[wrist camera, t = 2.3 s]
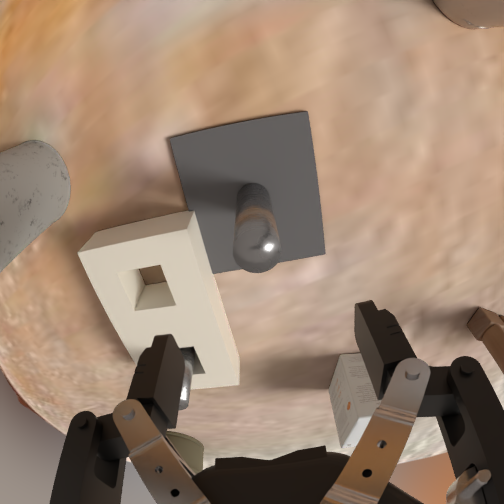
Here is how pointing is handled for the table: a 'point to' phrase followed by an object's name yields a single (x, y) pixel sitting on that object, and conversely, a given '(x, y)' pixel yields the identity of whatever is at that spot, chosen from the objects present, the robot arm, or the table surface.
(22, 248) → the grey concrete cylinder
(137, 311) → the bore block
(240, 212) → the steel pin
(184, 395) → the seated pin
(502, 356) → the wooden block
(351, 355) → the small box
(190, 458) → the can
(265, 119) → the mat
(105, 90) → the table surface
